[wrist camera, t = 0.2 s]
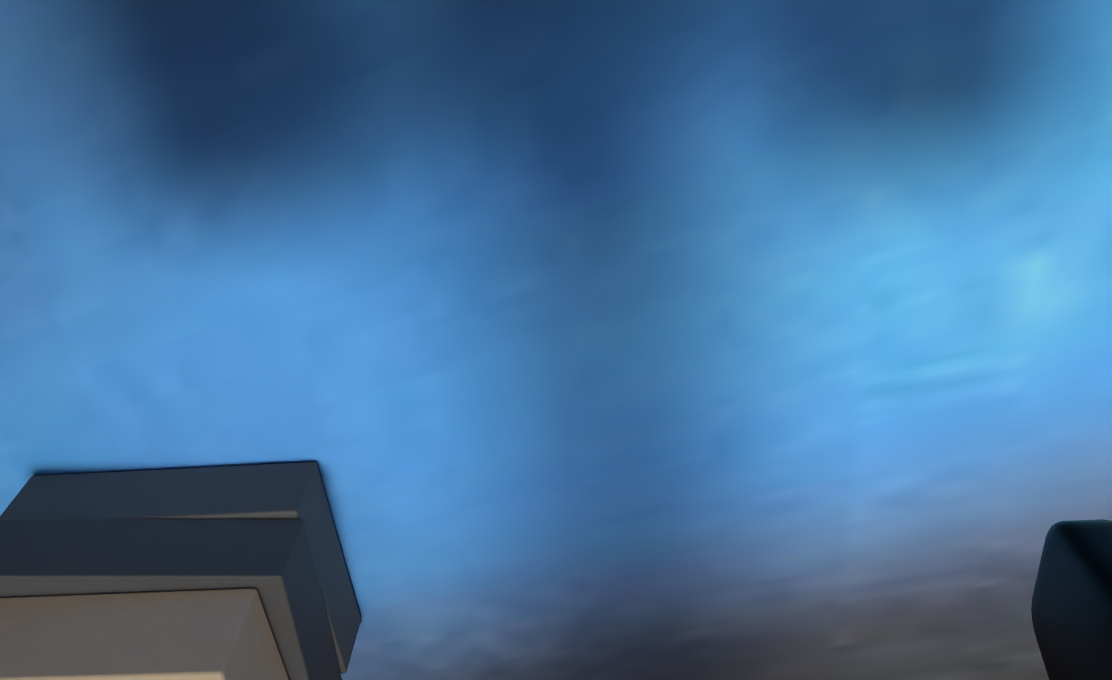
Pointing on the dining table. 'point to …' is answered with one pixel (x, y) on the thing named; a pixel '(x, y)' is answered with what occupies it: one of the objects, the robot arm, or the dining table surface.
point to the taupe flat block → (139, 637)
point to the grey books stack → (192, 547)
